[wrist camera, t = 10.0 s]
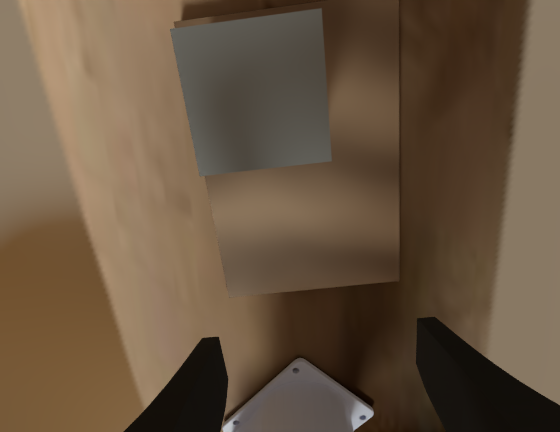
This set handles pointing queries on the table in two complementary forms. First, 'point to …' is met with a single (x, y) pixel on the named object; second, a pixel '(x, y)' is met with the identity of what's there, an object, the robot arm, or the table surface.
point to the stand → (324, 171)
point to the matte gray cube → (255, 91)
